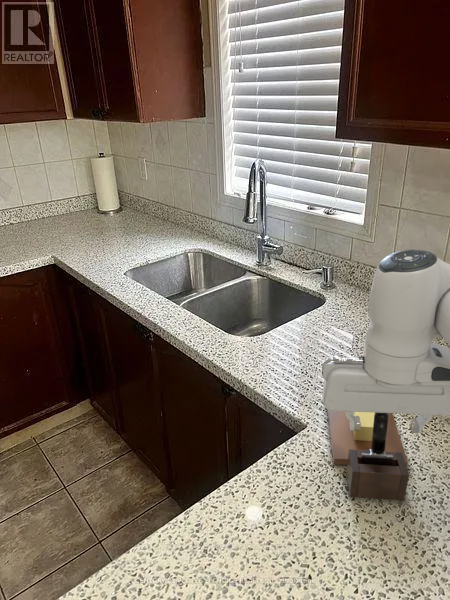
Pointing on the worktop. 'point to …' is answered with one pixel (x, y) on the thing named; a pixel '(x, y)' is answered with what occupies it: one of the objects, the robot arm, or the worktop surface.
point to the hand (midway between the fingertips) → (384, 429)
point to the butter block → (365, 426)
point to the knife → (378, 443)
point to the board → (345, 440)
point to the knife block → (377, 477)
